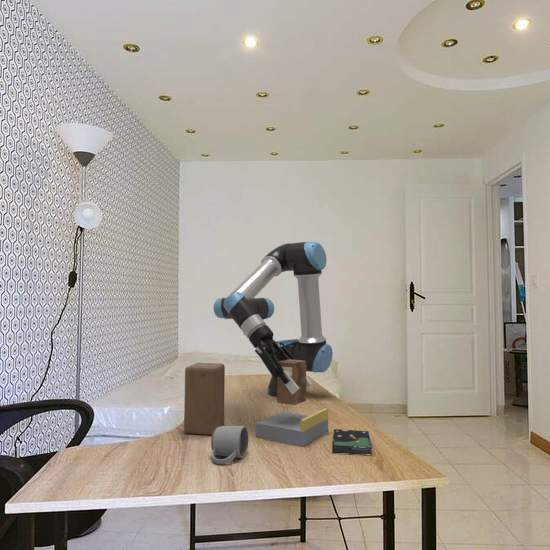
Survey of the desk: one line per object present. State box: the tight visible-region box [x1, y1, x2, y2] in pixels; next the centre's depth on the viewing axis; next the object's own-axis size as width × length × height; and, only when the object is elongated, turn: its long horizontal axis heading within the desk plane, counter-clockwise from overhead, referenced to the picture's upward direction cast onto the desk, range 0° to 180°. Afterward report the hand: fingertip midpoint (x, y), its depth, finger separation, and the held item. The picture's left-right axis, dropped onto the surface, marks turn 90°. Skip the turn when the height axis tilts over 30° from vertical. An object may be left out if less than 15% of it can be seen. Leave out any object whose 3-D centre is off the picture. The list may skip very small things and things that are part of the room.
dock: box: [255, 407, 329, 447], centre depth 131 cm, size 16×16×7 cm
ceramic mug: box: [210, 425, 249, 465], centre depth 111 cm, size 11×8×8 cm
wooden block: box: [183, 362, 226, 436], centre depth 135 cm, size 10×10×20 cm
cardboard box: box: [276, 359, 307, 406], centre depth 131 cm, size 7×6×12 cm
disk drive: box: [331, 428, 372, 455], centre depth 121 cm, size 10×3×15 cm
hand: (302, 389), depth 130 cm, fingers closed on cardboard box, 7 cm apart
